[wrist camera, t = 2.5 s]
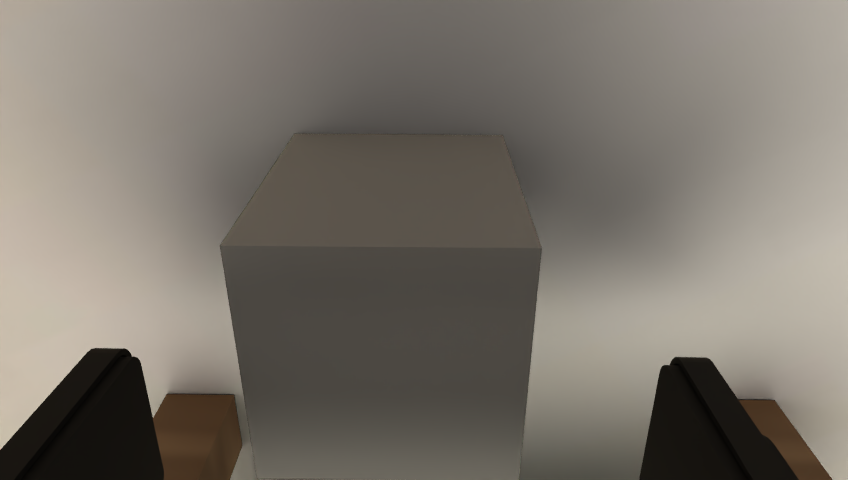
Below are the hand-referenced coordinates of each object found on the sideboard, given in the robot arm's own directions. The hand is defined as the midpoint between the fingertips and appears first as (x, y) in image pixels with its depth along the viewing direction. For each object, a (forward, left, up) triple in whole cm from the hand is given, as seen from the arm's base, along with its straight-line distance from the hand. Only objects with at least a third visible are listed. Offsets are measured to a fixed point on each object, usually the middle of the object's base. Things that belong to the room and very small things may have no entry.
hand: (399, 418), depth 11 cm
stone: (-1, 0, -6) cm, 6 cm away
